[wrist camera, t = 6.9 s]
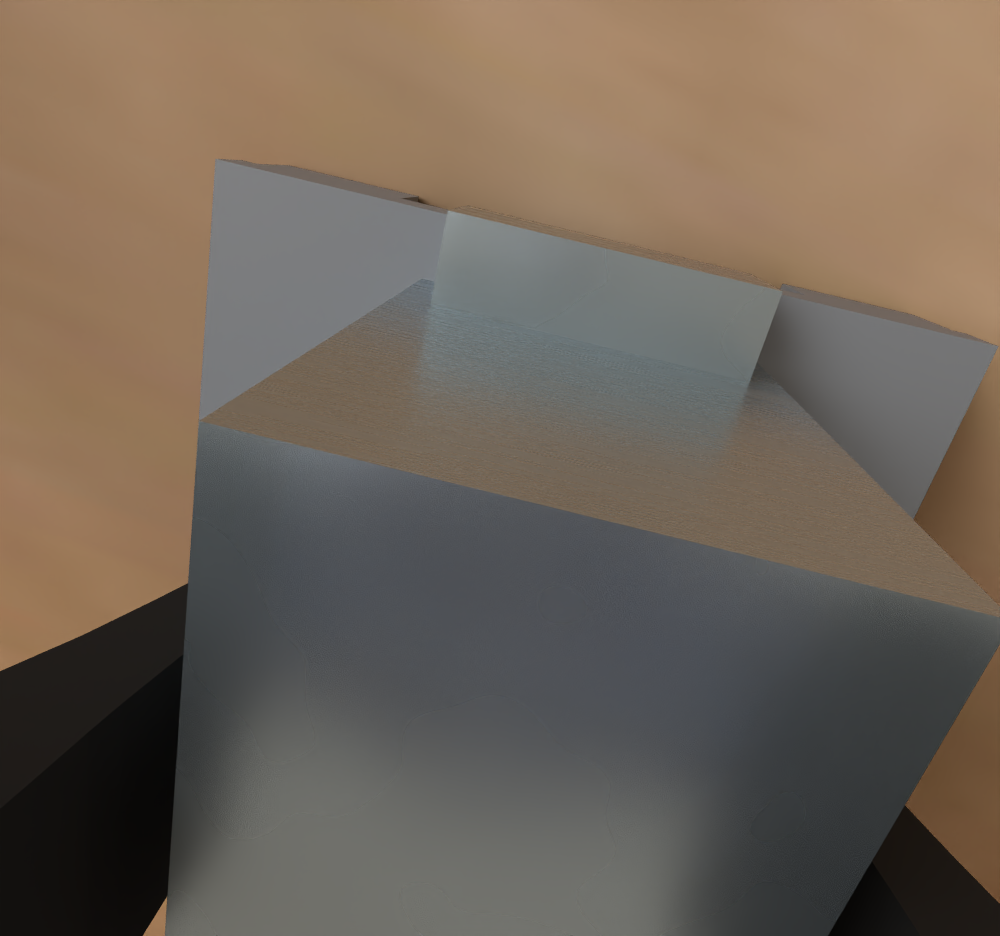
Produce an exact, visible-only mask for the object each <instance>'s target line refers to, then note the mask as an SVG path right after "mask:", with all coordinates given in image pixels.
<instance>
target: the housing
mask: <svg viewBox="0 0 1000 936" xmlns="http://www.w3.org/2000/svg"><path fill="white" fill-rule="evenodd" d="M782 293H783V291H781V290H779V289H778V288H776V287H774V286H772V285H770V284H768V283H766V282H765V281H763V280H761V279H759V278H757V277H755V276H753V275H752V274H748V273H744V272H740V271H736V270H731V269H727V268H723V267H719V266H715V265H711V264H707V263H703V262H698V261H694V260H690V259H686V258H682V257H678V256H674V255H670V254H665V253H661V252H657V251H653V250H649V249H645V248H641V247H637V246H632V245H628V244H624V243H620V242H616V241H612V240H608V239H604V238H599V237H595V236H591V235H587V234H583V233H579V232H575V231H570V230H566V229H562V228H558V227H554V226H550V225H546V224H542V223H537V222H533V221H529V220H525V219H521V218H517V217H513V216H509V215H504V214H500V213H496V212H492V211H488V210H484V209H480V208H476V207H471V206H464V207H459V208H455V209H451V210H448V212H447V217H446V223H445V228H444V234H443V239H442V245H441V250H440V255H439V261H438V266H437V272H436V277H435V282H434V281H430V280H426V279H421V280H419V281H417V282H416V283H414V284H413V285H411V286H410V287H408V288H406V289H405V290H403V291H402V292H400V293H399V294H397V295H395V296H394V297H392V298H391V299H389V300H388V301H386V302H385V303H383V304H381V305H380V306H378V307H377V308H375V309H374V310H372V311H370V312H369V313H367V314H366V315H364V316H363V317H361V318H359V319H358V320H356V321H355V322H353V323H352V324H350V325H348V326H347V327H345V328H344V329H342V330H341V331H339V332H338V333H336V334H334V335H333V336H331V337H330V338H328V339H327V340H325V341H323V342H322V343H320V344H319V345H317V346H316V347H314V348H312V349H311V350H309V351H308V352H306V353H305V354H303V355H301V356H300V357H298V358H297V359H295V360H294V361H292V362H291V363H289V364H287V365H286V366H284V367H283V368H281V369H280V370H278V371H276V372H275V373H273V374H272V375H270V376H269V377H267V378H265V379H264V380H262V381H261V382H259V383H258V384H256V385H255V386H253V387H251V388H250V389H248V390H247V391H245V392H244V393H242V394H240V395H239V396H237V397H236V398H234V399H233V400H231V401H229V402H228V403H226V404H225V405H223V406H222V407H220V408H218V409H217V410H215V411H214V412H212V413H211V414H209V415H208V416H206V417H204V418H203V419H201V420H200V421H199V429H198V444H197V459H196V474H195V489H194V504H193V519H192V535H191V550H190V565H189V580H188V595H187V610H186V625H185V640H184V655H183V670H182V685H181V700H180V715H179V730H178V745H177V760H176V775H175V791H174V806H173V821H172V836H171V851H170V866H169V881H168V896H167V911H166V926H165V936H828V935H829V933H830V931H831V930H832V928H833V926H834V924H835V923H836V921H837V919H838V918H839V916H840V914H841V913H842V911H843V909H844V907H845V906H846V904H847V902H848V901H849V899H850V897H851V896H852V894H853V892H854V891H855V889H856V887H857V885H858V884H859V882H860V880H861V879H862V877H863V875H864V874H865V872H866V870H867V868H868V867H869V865H870V863H871V862H872V860H873V858H874V857H875V855H876V853H877V852H878V850H879V848H880V846H881V845H882V843H883V841H884V840H885V838H886V836H887V835H888V833H889V831H890V829H891V828H892V826H893V824H894V823H895V821H896V819H897V818H898V816H899V814H900V812H901V811H902V809H903V807H904V806H905V804H906V802H907V801H908V799H909V797H910V796H911V794H912V792H913V790H914V789H915V787H916V785H917V784H918V782H919V780H920V779H921V777H922V775H923V773H924V772H925V770H926V768H927V767H928V765H929V763H930V762H931V760H932V758H933V757H934V755H935V753H936V751H937V750H938V748H939V746H940V745H941V743H942V741H943V740H944V738H945V736H946V734H947V733H948V731H949V729H950V728H951V726H952V724H953V723H954V721H955V719H956V718H957V716H958V714H959V712H960V711H961V709H962V707H963V706H964V704H965V702H966V701H967V699H968V697H969V695H970V694H971V692H972V690H973V689H974V687H975V685H976V684H977V682H978V680H979V678H980V677H981V675H982V673H983V672H984V670H985V668H986V667H987V665H988V663H989V662H990V660H991V658H992V656H993V655H994V653H995V651H996V650H997V648H998V646H999V645H1000V606H999V605H998V604H997V603H996V602H995V601H994V600H993V599H992V598H991V597H990V596H989V595H988V594H987V593H986V592H985V591H984V590H983V589H982V588H981V587H980V586H979V585H978V584H977V583H976V582H975V581H974V580H973V579H972V578H971V577H970V576H969V575H968V574H967V573H966V572H965V571H964V570H963V569H962V568H961V567H960V566H959V565H958V564H957V563H956V562H955V561H954V560H953V559H952V558H951V557H950V556H949V555H948V554H947V553H946V552H945V551H944V550H943V549H942V548H941V547H940V546H939V545H938V544H937V543H936V542H935V541H934V540H933V539H932V538H931V537H930V536H929V535H928V534H927V533H926V532H925V531H924V530H923V529H922V528H921V527H920V526H919V525H918V524H917V523H916V522H915V521H914V520H913V519H912V518H911V517H910V516H909V515H908V514H907V513H906V512H905V511H904V510H903V509H902V508H901V507H900V506H899V505H898V504H897V503H896V502H895V501H894V500H893V499H892V498H891V497H890V496H889V495H888V494H887V493H886V492H885V491H884V490H883V489H882V488H881V487H880V486H879V485H878V484H877V483H876V482H875V481H874V480H873V479H872V478H871V477H870V476H869V475H868V474H867V472H866V471H865V470H864V469H863V468H862V467H861V466H860V465H859V464H858V463H857V462H856V461H855V460H854V459H853V458H852V457H851V456H850V455H849V454H848V453H847V452H846V451H845V450H844V449H843V448H842V447H841V446H840V445H839V444H838V443H837V442H836V441H835V440H834V439H833V438H832V437H831V436H830V435H829V434H828V433H827V432H826V431H825V430H824V429H823V428H822V427H821V426H820V425H819V424H818V423H817V422H816V421H815V420H814V419H813V418H812V417H811V416H810V415H809V414H808V413H807V412H806V411H805V410H804V409H803V408H802V407H801V406H800V405H799V404H798V403H797V402H796V401H795V400H794V399H793V398H792V397H791V396H790V395H789V394H788V393H787V392H786V391H785V390H784V389H783V388H782V387H781V386H780V385H779V384H778V383H777V382H776V381H775V380H774V379H773V378H772V377H771V376H770V375H769V374H768V373H767V372H766V371H765V370H764V369H763V368H762V367H761V366H760V365H759V364H758V363H757V361H758V358H759V355H760V352H761V350H762V347H763V344H764V342H765V339H766V336H767V333H768V331H769V328H770V325H771V322H772V320H773V317H774V314H775V312H776V309H777V306H778V303H779V301H780V298H781V295H782Z"/></svg>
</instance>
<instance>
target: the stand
mask: <svg viewBox="0 0 1000 936" xmlns="http://www.w3.org/2000/svg"><path fill="white" fill-rule="evenodd" d="M418 197H419V196H414V195H410V194H406V193H402V192H398V191H394V190H389V189H385V188H381V187H377V186H373V185H368V184H364V183H360V182H356V181H352V180H348V179H343V178H339V177H335V176H331V175H327V174H323V173H318V172H314V171H310V170H306V169H302V168H297V167H293V166H288V165H268V164H255V163H251V162H247V161H243V160H226V159H216V161H215V176H214V192H213V208H212V224H211V239H210V255H209V271H208V286H207V302H206V318H205V334H204V349H203V365H202V381H201V396H200V412H199V421H200V420H201V419H203V418H204V417H206V416H208V415H209V414H211V413H212V412H214V411H215V410H217V409H218V408H220V407H222V406H223V405H225V404H226V403H228V402H229V401H231V400H233V399H234V398H236V397H237V396H239V395H240V394H242V393H244V392H245V391H247V390H248V389H250V388H251V387H253V386H255V385H256V384H258V383H259V382H261V381H262V380H264V379H265V378H267V377H269V376H270V375H272V374H273V373H275V372H276V371H278V370H280V369H281V368H283V367H284V366H286V365H287V364H289V363H291V362H292V361H294V360H295V359H297V358H298V357H300V356H301V355H303V354H305V353H306V352H308V351H309V350H311V349H312V348H314V347H316V346H317V345H319V344H320V343H322V342H323V341H325V340H327V339H328V338H330V337H331V336H333V335H334V334H336V333H338V332H339V331H341V330H342V329H344V328H345V327H347V326H348V325H350V324H352V323H353V322H355V321H356V320H358V319H359V318H361V317H363V316H364V315H366V314H367V313H369V312H370V311H372V310H374V309H375V308H377V307H378V306H380V305H381V304H383V303H385V302H386V301H388V300H389V299H391V298H392V297H394V296H395V295H397V294H399V293H400V292H402V291H403V290H405V289H406V288H408V287H410V286H411V285H413V284H414V283H416V282H417V281H419V280H421V279H426V280H430V281H434V282H435V277H436V272H437V266H438V261H439V255H440V250H441V245H442V239H443V234H444V228H445V223H446V217H447V212H448V210H447V209H443V208H439V207H435V206H431V205H426V204H422V203H418ZM779 290H781V291H783V293H782V295H781V298H780V301H779V303H778V306H777V309H776V312H775V314H774V317H773V320H772V322H771V325H770V328H769V331H768V333H767V336H766V339H765V342H764V344H763V347H762V350H761V352H760V355H759V358H758V361H757V363H758V364H759V365H760V366H761V367H762V368H763V369H764V370H765V371H766V372H767V373H768V374H769V375H770V376H771V377H772V378H773V379H774V380H775V381H776V382H777V383H778V384H779V385H780V386H781V387H782V388H783V389H784V390H785V391H786V392H787V393H788V394H789V395H790V396H791V397H792V398H793V399H794V400H795V401H796V402H797V403H798V404H799V405H800V406H801V407H802V408H803V409H804V410H805V411H806V412H807V413H808V414H809V415H810V416H811V417H812V418H813V419H814V420H815V421H816V422H817V423H818V424H819V425H820V426H821V427H822V428H823V429H824V430H825V431H826V432H827V433H828V434H829V435H830V436H831V437H832V438H833V439H834V440H835V441H836V442H837V443H838V444H839V445H840V446H841V447H842V448H843V449H844V450H845V451H846V452H847V453H848V454H849V455H850V456H851V457H852V458H853V459H854V460H855V461H856V462H857V463H858V464H859V465H860V466H861V467H862V468H863V469H864V470H865V471H866V472H867V474H868V475H869V476H870V477H871V478H872V479H873V480H874V481H875V482H876V483H877V484H878V485H879V486H880V487H881V488H882V489H883V490H884V491H885V492H886V493H887V494H888V495H889V496H890V497H891V498H892V499H893V500H894V501H895V502H896V503H897V504H898V505H899V506H900V507H901V508H902V509H903V510H904V511H905V512H906V513H907V514H908V515H909V516H910V517H911V518H912V519H914V517H915V515H916V513H917V511H918V509H919V507H920V505H921V503H922V501H923V499H924V497H925V495H926V493H927V491H928V488H929V486H930V484H931V482H932V480H933V478H934V476H935V474H936V472H937V470H938V468H939V466H940V464H941V462H942V460H943V458H944V456H945V454H946V452H947V450H948V448H949V446H950V444H951V442H952V440H953V438H954V436H955V434H956V431H957V429H958V427H959V425H960V423H961V421H962V419H963V417H964V415H965V413H966V411H967V409H968V407H969V405H970V403H971V401H972V399H973V397H974V395H975V393H976V391H977V389H978V387H979V385H980V383H981V381H982V379H983V377H984V375H985V372H986V370H987V368H988V366H989V364H990V362H991V360H992V358H993V356H994V354H995V352H996V350H997V348H998V346H996V345H993V344H991V343H988V342H986V341H983V340H981V339H978V338H976V337H973V336H971V335H968V334H965V333H961V332H957V331H952V330H950V329H947V328H945V327H942V326H940V325H937V324H935V323H932V322H930V321H927V320H925V319H922V318H920V317H917V316H915V315H911V314H907V313H903V312H899V311H895V310H891V309H886V308H882V307H878V306H874V305H870V304H865V303H861V302H857V301H853V300H849V299H845V298H840V297H836V296H832V295H828V294H824V293H820V292H815V291H811V290H807V289H803V288H799V287H794V286H790V285H786V284H782V287H781V289H779ZM198 429H199V428H198ZM197 444H198V443H197Z"/></svg>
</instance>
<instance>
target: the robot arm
mask: <svg viewBox="0 0 1000 936" xmlns="http://www.w3.org/2000/svg"><path fill="white" fill-rule="evenodd" d="M187 595H188V584H186V585H184V586H182V587H180V588H178V589H176V590H174V591H172V592H170V593H168V594H166V595H164V596H162V597H160V598H158V599H156V600H154V601H152V602H150V603H148V604H146V605H144V606H142V607H140V608H138V609H136V610H134V611H131V612H129V613H127V614H125V615H123V616H121V617H119V618H117V619H115V620H113V621H111V622H109V623H107V624H105V625H103V626H101V627H99V628H97V629H95V630H92V631H90V632H88V633H86V634H84V635H82V636H80V637H78V638H75V639H73V640H71V641H68V642H66V643H64V644H62V645H59V646H57V647H55V648H52V649H50V650H48V651H46V652H43V653H41V654H39V655H36V656H34V657H32V658H30V659H27V660H25V661H23V662H20V663H18V664H16V665H14V666H11V667H9V668H7V669H5V670H2V671H0V936H143V934H144V933H145V931H146V929H147V928H148V926H149V925H150V923H151V921H152V920H153V918H154V917H155V915H156V913H157V912H158V910H159V908H160V907H161V905H162V904H163V902H164V900H165V899H166V897H167V896H168V881H169V866H170V851H171V836H172V821H173V806H174V791H175V775H176V760H177V745H178V730H179V715H180V700H181V685H182V670H183V655H184V640H185V625H186V610H187ZM828 936H1000V904H999V903H998V902H997V901H996V900H995V899H994V898H993V897H992V896H991V895H990V894H989V893H988V892H987V891H986V890H985V889H984V888H983V887H982V886H981V884H980V883H979V882H978V881H977V880H976V879H975V878H974V877H973V876H972V875H971V874H970V873H969V872H968V871H967V870H966V869H965V868H964V867H963V866H962V865H961V864H960V863H959V862H958V861H957V860H956V859H955V858H954V857H953V856H952V855H951V854H950V853H949V852H948V850H947V849H946V848H945V847H944V846H943V845H942V844H941V843H940V842H939V841H938V840H937V839H936V838H935V837H934V836H933V835H932V834H931V833H930V832H929V830H928V829H927V828H926V827H925V826H924V825H923V824H922V823H921V822H920V821H919V820H918V819H917V818H916V817H915V816H914V815H913V813H912V812H911V811H910V810H909V809H908V808H907V807H906V806H904V807H903V809H902V811H901V812H900V814H899V816H898V818H897V819H896V821H895V823H894V824H893V826H892V828H891V829H890V831H889V833H888V835H887V836H886V838H885V840H884V841H883V843H882V845H881V846H880V848H879V850H878V852H877V853H876V855H875V857H874V858H873V860H872V862H871V863H870V865H869V867H868V868H867V870H866V872H865V874H864V875H863V877H862V879H861V880H860V882H859V884H858V885H857V887H856V889H855V891H854V892H853V894H852V896H851V897H850V899H849V901H848V902H847V904H846V906H845V907H844V909H843V911H842V913H841V914H840V916H839V918H838V919H837V921H836V923H835V924H834V926H833V928H832V930H831V931H830V933H829V935H828Z"/></svg>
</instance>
